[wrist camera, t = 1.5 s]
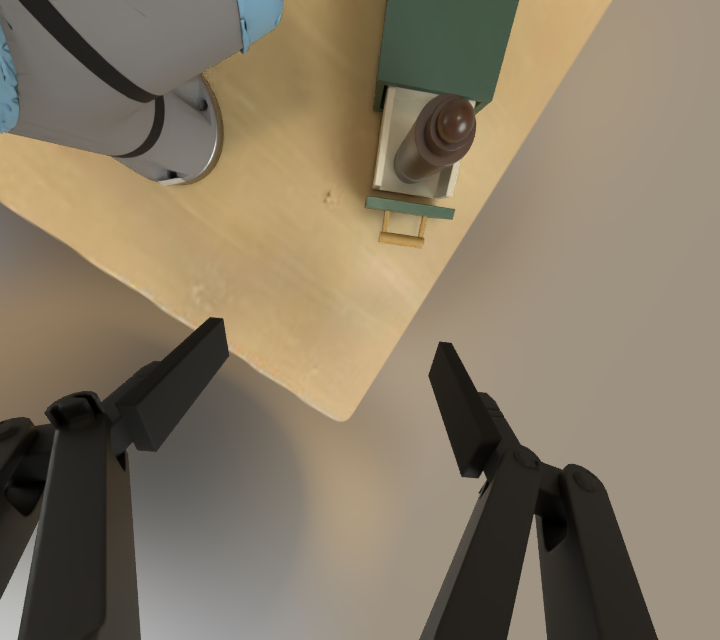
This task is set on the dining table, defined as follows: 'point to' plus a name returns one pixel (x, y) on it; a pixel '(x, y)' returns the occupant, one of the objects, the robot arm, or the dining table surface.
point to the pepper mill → (436, 138)
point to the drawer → (394, 129)
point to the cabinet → (444, 47)
